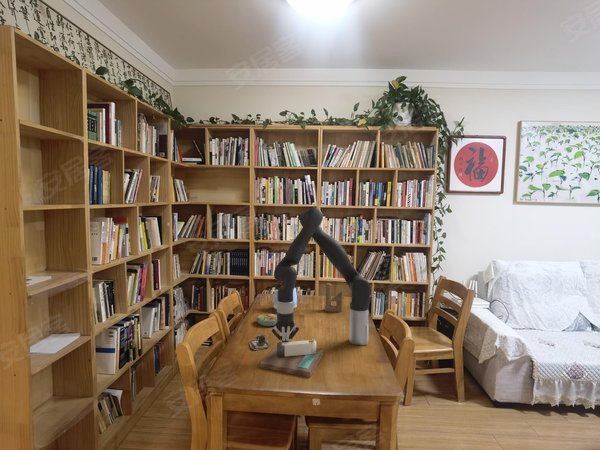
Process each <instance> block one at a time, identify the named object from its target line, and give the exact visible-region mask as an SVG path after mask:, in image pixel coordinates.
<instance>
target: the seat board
mask: <svg viewBox="0 0 600 450" xmlns="http://www.w3.org/2000/svg"><path fill="white" fill-rule="evenodd" d="M266 355H267V356H266V357H264V359H262V361H261V362H260V364H259V365H260V366H259V368H261V369H266V370H270V371H271V370H272V371H277V372H283V373H287V374H292V375H297V376H302V377H303V376H304V377H308V378H311V377H312V375H313V373H314V371H315V370H316V368H317V366H318V365H319V363H320V361H321V359H322V358H323V356H324V350H323V349H317V348H316V354H307V355H296V356H285V357H278V356H277V345H276V346H275V347H274V348H273V349H272V350H271V351H270V352H269V353H268V354H266Z"/></svg>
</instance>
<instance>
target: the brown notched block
mask: <svg viewBox="0 0 600 450" xmlns="http://www.w3.org/2000/svg"><path fill="white" fill-rule="evenodd" d="M332 302H336V303H335V305H334V304H332ZM324 311H325V312H331V313H333V312H334V313H342V312H343V289H341V290H340V291H339V292H338V293H336V294H335V295H334V296H333V297H332V284H331V283H330V282H329V283H325V307H324Z"/></svg>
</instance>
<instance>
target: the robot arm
mask: <svg viewBox="0 0 600 450" xmlns="http://www.w3.org/2000/svg"><path fill="white" fill-rule="evenodd" d="M323 220H324V214H323V212H322V211H321V209H320V208H318V207H315V206H314V207H313V206H312V207H310V208H308V209H306V210H304V211H303V212H301V213H300V215H299V220H298V221H299V223H300V225H301V226H302V228H301V230H300V231H299V232H298V234H297V235H296V237H295V238H294V239H293V240H292V242H291V244H290V246H289V248H288V250H287V252H286V254H285V255H284V257H282V259H281V260H280V261H279V263H277V265H276V266H275V268H274V271H273V277H274V279H275V281H278V282H283V283H284V286H279V287H278V288H277V290H278V293H277V309H276V315H277V323H276V325H274V326H273V327H271V332H272V334H273V335H274V336H275V337H276V338H277V340H279V341H281V342H290V340H292V339H294V337H295V336H296V335H297V333H298V332H299V330H300V328H299V326H298V325H296V324H295V322H294V318H295V317H294V313H295V311H294V310H295V308H294V304H293V290H294V288H296V287H295V285H296V282H297V278H298V271H297V270H296V268H294V267H293V266H296V265H297V266H298V265H299V264H300V262H301V259H302V257H303V256H304V254H305V251H306V248H307V246H308V244H309V243H310V242H311V241H310V240H311V239H313V240H314V242H315V243H316V245H318V247H319V248H320V250H321V251H322V252H323V254H324V256H325V257H326V258H327V260H328V261H329V262H330V263H331V264H332V266H333V267H334V268H335V269H336V271H337V272H339V273H340V275H341V276H342V278H343V279H344V281H345V283H346V284H347V287H348V288H349V289H350V291H351V301H350V302H349V335H348V337H349V339H348V340H349V343H350V344H352V345H356V346H357V345H358V346H368V344H369V330H370V329H369V327H370V326H369V325H370V323H369V306H370V303H371V285H370V282H369V281H368V280H367V279H366V278H365V277H363V276H362V275H361V274H360V273H359V272H358V271H357V269H356V268H355V267H354V266H353V264H352V262H351V260H350V257H349V255H348V253H347V252H346V250H345V249H344V247H343V246H342V245H341V243H340V242H339V241H338V240H337V239H335V238H334V237H332V236H331V235H329V234H328V233H326V232H325V231H324V230H323V229H322V228H321V223H322V222H323ZM278 331H279V333H280V334H281V335H280V334H279V333H278Z"/></svg>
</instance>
